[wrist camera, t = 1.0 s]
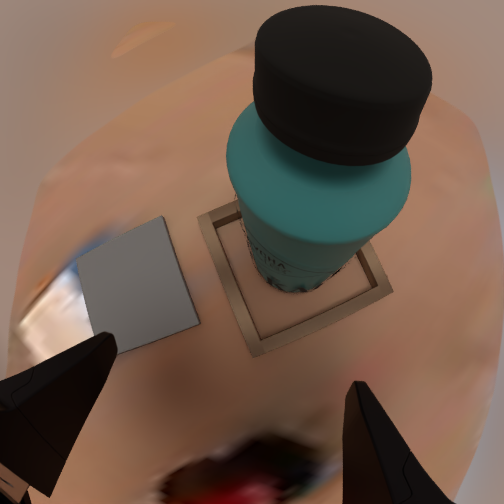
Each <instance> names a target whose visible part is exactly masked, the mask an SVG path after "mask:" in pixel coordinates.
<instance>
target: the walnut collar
mask: <svg viewBox="0 0 504 504" xmlns="http://www.w3.org/2000/svg"><path fill="white" fill-rule="evenodd" d="M235 207H237V208H235ZM237 210H238V213H239V214H238V213H237ZM238 216H240V217H239V218H242V215H241V213H240V207H239V203H238V200H236V201H233V202H231V203H228V204H226V205H224V206H221V207H219V208H217V209H214V210H212V211H210V212H207V213H205V214H203V215H200V216H198V217H197V220H198V222H199V225H200V228H201V230H202V233H203V236H204V238H205V241H206V244H207V246H208V249H209V251H210V254H211V257H212V259H213V262H214V264H215V267H216V269H217V272H218V275H219V277H220V280H221V282H222V285H223V287H224V290H225V292H226V295H227V297H228V300H229V302H230V305H231V307H232V310H233V312H234V314H235V317H236V319H237V322H238V324H239V327H240V329H241V331H242V334H243V336H244V338H245V341H246V343H247V346H248V348H249V350H250V353H251V355H252V357H253V358H255V357H257V356H260V355H262V354H265V353H267V352H269V351H272V350H274V349H277V348H279V347H281V346H284V345H286V344H288V343H291V342H293V341H295V340H298V339H300V338H302V337H304V336H307V335H309V334H311V333H313V332H315V331H318V330H320V329H322V328H324V327H326V326H328V325H330V324H332V323H334V322H337V321H339V320H341V319H343V318H345V317H347V316H349V315H351V314H353V313H355V312H357V311H359V310H360V309H362V308H364V307H366V306H368V305H370V304H372V303H374V302H376V301H378V300H379V299H381V298H383V297H385V296H387V295H389V294H390V293H392V292H394V291H393V289H392V287H391V285H390V282H389V280H388V278H387V276H386V274H385V271H384V269H383V267H382V265H381V263H380V261H379V259H378V257H377V255H376V253H375V251H374V249H373V247H372V245H371V243H370V241H368V242H367V243H366V244H365V245H364V246H363V247H361V249H359V250H360V251H359V250H358V251H357V252H356V254H357V256H358V258H359V260H360V262H361V265H362V267H363V269H364V271H365V273H366V275H367V277H368V280H369V282H370V284H371V286H372V289H370V290H368V291H366V292H364V293H362V294H360V295H358V296H356V297H354V298H352V299H350V300H348V301H346V302H344V303H342V304H340V305H338V306H336V307H334V308H332V309H330V310H328V311H326V312H323V313H321V314H319V315H317V316H315V317H313V318H311V319H308V320H306V321H304V322H302V323H299V324H297V325H295V326H293V327H290V328H288V329H286V330H283V331H281V332H279V333H276V334H274V335H272V336H269V337H267V338H264V339H262V340H261V338H260V336H259V334H258V331H257V329H256V327H255V324H254V322H253V319H252V317H251V315H250V312H249V310H248V308H247V305H246V303H245V300H244V298H243V295H242V293H241V291H240V288H239V286H238V283H237V281H236V278H235V276H234V274H233V271H232V269H231V266H230V264H229V261H228V259H227V256H226V254H225V251H224V249H223V246H222V244H221V241H220V239H219V236H218V234H217V231H216V228H218V227H220V226H223V225H225V224H228V223H230V222H232V221H235V220H237V219H239V218H238ZM358 252H359V253H358Z"/></svg>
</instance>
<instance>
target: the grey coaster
mask: <svg viewBox="0 0 504 504" xmlns="http://www.w3.org/2000/svg"><path fill="white" fill-rule="evenodd" d="M76 262H77V267H78V272H79V277H80V282H81V287H82V291H83V295H84V299H85V304H86V308H87V311H88V315H89V319H90V323H91V326H92V330H93V333H94V336H95V335H97V334H99V333H101V332H103V331H106V332H109V333H112V334H113V335H114V337H115V340H116V344H117V347H118V353H117V355H118V354H120V353H123V352H126V351H129V350H132V349H135V348H137V347H140V346H143V345H146V344H149V343H151V342H154V341H157V340H159V339H162V338H165V337H168V336H170V335H173V334H176V333H178V332H181V331H183V330H186V329H189V328H191V327H194V326H196V325H199V324H201V322H200V320H199V317H198V314H197V312H196V309H195V307H194V304H193V301H192V299H191V296H190V293H189V290H188V288H187V285H186V282H185V279H184V276H183V274H182V271H181V268H180V265H179V262H178V259H177V256H176V253H175V250H174V247H173V244H172V241H171V238H170V235H169V232H168V229H167V226H166V223H165V219H164V217H163V216H162V215H161V216H159V217H157V218H155V219H153V220H151V221H149V222H147V223H145V224H143V225H140V226H138V227H136V228H134V229H132V230H130V231H128V232H126V233H124V234H122V235H120V236H118V237H116V238H114V239H112V240H110V241H108V242H107V243H105V244H103V245H101V246H99V247H97V248H95V249H93V250H91V251H89V252H88V253H86V254H84V255H82V256H80V257H78V258H76Z"/></svg>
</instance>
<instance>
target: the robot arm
mask: <svg viewBox="0 0 504 504" xmlns="http://www.w3.org/2000/svg"><path fill="white" fill-rule="evenodd" d="M117 353H118V347H117V344H116V340H115V337H114V335H113V334H112V333H109V332H106V331H103V332H101V333H99V334H97V335H95V336H93V337H91V338H89V339H87V340H85V341H83V342H81V343H79V344H77V345H75V346H73V347H71V348H69V349H67V350H65V351H63V352H61V353H59V354H57V355H55V356H53V357H51V358H49V359H47V360H45V361H43V362H41V363H39V364H37V365H36V366H33V367H31V368H29V369H27V370H25V371H23V372H21V373H19V374H16V375H14V376H12V377H9V378H7V379H4V380H1V381H0V504H31V500H30V497H29V493H28V491H27V489H28V488H29V486H32V487H33V488H35V489H36V490H38V491H39V492H41V493H42V494H44V495H46V496H47V497H49V498H50V496H51V494H52V492H53V490H54V487H55V485H56V483H57V481H58V478H59V476H60V474H61V472H62V469H63V467H64V465H65V463H66V460H67V458H68V456H69V454H70V452H71V450H72V447H73V445H74V443H75V441H76V439H77V437H78V435H79V433H80V431H81V429H82V427H83V425H84V423H85V421H86V419H87V417H88V415H89V413H90V411H91V409H92V407H93V405H94V404H95V402H96V400H97V398H98V396H99V394H100V392H101V390H102V388H103V386H104V384H105V382H106V380H107V378H108V375H109V373H110V370H111V368H112V365H113V363H114V361H115V358H116V356H117ZM342 441H343V503H342V504H455V503H454V502H452V501H451V500H450V499H448V498H447V496H446V495H445V494H444V493H443V492H442V491H441V489H440V488H439V487H438V486H437V485H436V484H435V482H434V481H433V480H432V479H431V478H430V476H429V475H428V474H427V473H426V471H425V470H424V469H423V467H422V466H421V465H420V463H419V462H418V460H417V459H416V457H415V456H414V454H413V453H412V451H410V448H409V447H408V445H407V444H406V442H405V441H404V439H403V437H402V436H401V434H400V433H399V431H398V430H397V428H396V427H395V425H394V424H393V422H392V421H391V419H390V418H389V416H388V415H387V413H386V412H385V410H384V409H383V407H382V406H381V404H380V403H379V401H378V400H377V398H376V397H375V395H374V394H373V392H372V391H371V390H370V388H369V387H368V385H367V384H366V382H364V381H354V382H353V383H352V385H351V387H350V389H349V391H348V392H347V395H346V399H345V411H344V423H343V439H342Z"/></svg>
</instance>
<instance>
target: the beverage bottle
mask: <svg viewBox="0 0 504 504" xmlns="http://www.w3.org/2000/svg"><path fill="white" fill-rule="evenodd" d="M431 86H432V71H431V67H430V64H429V62H428V60H427V58H426V56H425V55H424V53H423V52H422V51H421V49H420V48H419V47H418V46H417V45H416V44H415V43H414V42H413V41H412V40H411V39H410V38H409V37H408V36H407V35H405V34H404V33H402V32H401V31H400V30H398V29H396V28H395V27H393V26H392V25H390V24H388V23H387V22H384V21H383V20H381V19H378V18H376V17H374V16H371V15H369V14H366V13H363V12H360V11H356V10H352V9H348V8H342V7H336V6H325V5H310V6H301V7H295V8H291V9H287V10H284V11H281V12H279V13H277V14H275V15H273V16H272V17H270V18H269V19H268V20H266V21H265V22H264V23H263V24H262V26H261V27H260V29H259V31H258V33H257V37H256V40H255V72H254V77H253V96H254V102H252V103H251V104H250V105H249V106H248V107H247V108H246V109H245V110H244V111H243V112H242V113H241V114H240V116H239V117H238V118H237V120H236V122H235V123H234V125H233V127H232V130H231V132H230V135H229V139H228V143H227V151H226V161H227V168H228V173H229V177H230V180H231V183H232V185H233V188H234V190H235V192H236V194H237V198H238V203H239V207H240V213H241V215H242V218H243V221H244V225H245V228H246V232H247V235H248V236H247V238H249V239H248V240H247V242H248V241H249V242H250V243H249V242H248V243H249V244H250V246H251V249H252V252H253V255H252V254H251V252H250V254H251V255H252V256H254V257H253V258H254V261H255V262H256V265H257V269H258V270H259V271H258V272H260V273H261V275H262V276H263V278H264V279H265V280H266V281H267V282H266V283H269V284H270V285H272V286H273V288H274V287H276V288H278V289H279V290H282V291H283V292H284V291H286V293H287V291H288V292H292V293H294V292H300V293H302V292H307V293H308V290H310V289H313V288H314V289H317V288H318V287H319V286H320V285H322V284H323V283H322V282H323V281H324V282H325V281H326V279H327V278H328V277H329V276H331V275H332V277H333V275H335V274H336V273H337V272H339V271H340V269H341V268H342V267H341V266H343V265H344V264H345V263H346V262H348V260H349V259H350V258H352V257H353V255H354V254H355V253H356V252H357V251H358V250H359V249H361V247H363V246H364V245H365V244H366V243H367V242H368V241H369V240H370V239H371V238H372V237H373V236H374V235H375V234H377V233H379V232H380V231H382V230H383V229H384V228H386V227H387V226H388V225H389V224H390V223H391V222H392V221H393V220H394V219H395V218H396V216H397V215H398V214H399V212H400V211H401V209H402V208H403V206H404V204H405V202H406V200H407V197H408V194H409V190H410V184H411V165H410V158H409V155H408V151H407V148H406V145H407V143H408V142H409V140H410V139H411V137H412V135H413V134H414V132H415V130H416V127H417V125H418V122H419V117H420V114H421V112H422V109H423V107H424V105H425V103H426V100H427V98H428V96H429V93H430V91H431ZM236 194H235V196H236ZM235 208H237V207H235ZM237 213H238V210H237ZM238 214H239V213H238ZM239 217H240V216H238V218H239ZM239 221H241V219H239ZM240 224H241V222H240ZM242 224H243V223H242ZM241 226H242V225H241ZM243 231H244V230H243ZM244 232H245V231H244ZM245 235H246V233H245ZM245 235H244V236H245ZM248 247H249V245H248ZM249 251H250V250H249ZM359 251H360V250H359ZM358 253H359V252H358ZM252 256H251V257H252ZM355 258H356V257H355ZM253 264H254V263H253ZM254 266H255V265H254ZM340 267H341V268H340ZM339 268H340V269H339ZM344 268H345V267H344ZM255 269H256V267H255ZM341 270H342V269H341ZM335 271H337V272H335ZM333 273H334V274H333ZM332 277H331V278H332ZM327 280H329V278H328V279H327ZM321 283H322V284H321ZM316 286H317V287H316ZM270 287H271V286H270ZM315 287H316V288H315ZM314 289H313V290H314ZM280 292H281V291H280ZM309 292H311V291H309ZM294 294H295V293H294ZM298 294H299V293H298Z"/></svg>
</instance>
